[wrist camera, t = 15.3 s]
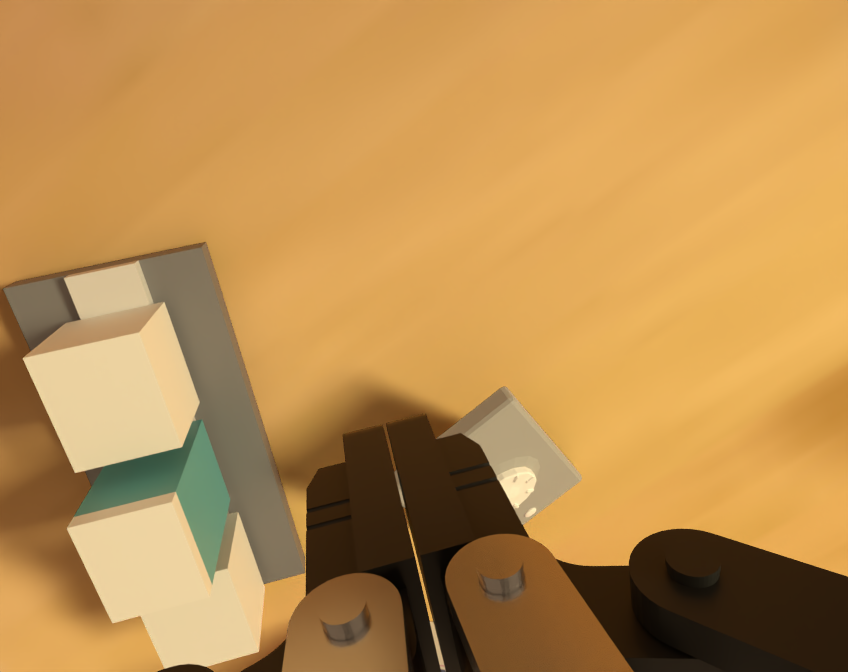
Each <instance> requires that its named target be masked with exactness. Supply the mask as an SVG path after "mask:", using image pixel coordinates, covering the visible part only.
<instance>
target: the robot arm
mask: <svg viewBox="0 0 848 672" xmlns="http://www.w3.org/2000/svg"><path fill="white" fill-rule="evenodd" d="M386 425H387V430H388V435H389V439H390V443H391V448H392V452H393V456H394V461H395V465H396V470H397V474H398V478H399V483H400V487H401V491H402V496H403V500H404V504H405V509H406V513H407V517H408V521H409V525H410V529H411V534H412V538H413V542H414V546H415V550H416V554H417V558H418V562H419V566H420V570H421V574H422V578H423V582H424V586H425V590H426V594H427V598H428V602H429V606H430V610H431V614H432V618H433V622H434V626H435V630H436V634H437V638H438V642H439V646H440V650H441V654H442V658H443V662H444V666H445V670H446V672H848V577H847V576H844V575H841V574H837V573H834V572H831V571H828V570H825V569H822V568H819V567H816V566H812V565H809V564H806V563H803V562H800V561H797V560H794V559H791V558H787V557H784V556H781V555H778V554H775V553H772V552H769V551H765V550H762V549H759V548H756V547H753V546H750V545H747V544H744V543H740V542H737V541H734V540H731V539H728V538H725V537H722V536H719V535H715V534H712V533H708V532H705V531H699V530H693V529H671V530H665V531H661V532H658V533H655V534H652V535H650V536H648V537H646V538H645V539H643V540H642V541H641V542H639V543H638V544H637V546H636V547H635V548H634V549H633V551H632V553H631V555H630V560H629V566H581V565H574V564H570V563H566V562H562V561H560V560H557V559H555V557H554V556H553V555H552V553H551V552H550V551H549V550H548V549H547V548H546V547H545V546H543V545H542V544H541V543H539V542H537V541H535V540H533V539H531V538H529V536H528V534H527V532H526V531H525V529H524V527H523V525H522V523H521V521H520V519H519V517H518V516H517V514H516V512H515V510H514V508H513V506H512V504H511V502H510V500H509V499H508V497H507V495H506V493H505V491H504V489H503V487H502V485H501V484H500V482H499V480H498V479H497V476H496V474H495V472H494V470H493V468H492V467H491V466H490V464H489V461H488V459H487V457H486V455H485V453H484V452H483V450H482V448H481V446H480V445H479V444H478V443H476V442H475V441H473V440H471V439H470V438H468V437H466V436H465V435H463V434H462V433H459V434H455V435H451V436H447V437H443V438H439V439H436V438H435V436H434V434H433V431H432V429H431V426H430V424H429V421H428V419H427V416H426V414H421V415H417V416H413V417H409V418H405V419H401V420H397V421H393V422H389V423H386ZM343 442H344V452H345V461H346V462H344V463H341V464H337V465H333V466H329V467H325V468H321V469H319V470H318V471H317V473H316V475H315V476H314V478H313V480H312V481H311V483H310V485H309V486H308V488H307V514H306V527H307V531H306V597H304V599H303V600H302V601H301V602H300V603H299V604H298V606H297V607H296V609H295V610H294V612H293V614H292V616H291V619H290V621H289V625H288V630H287V638H286V640H285V641H284V642H283V643H282V644H281V645H280V646H279V647H278V648H277V649H275V650H274V651H273V652H272V653H270V654H269V655H268V656H266V657H265V658H263V659H261V660H260V661H258V662H257V663H255V664H253V665H251V666H250V667H248V668H246V669H244V670H243V671H241V672H441V669H440V664H439V660H438V656H437V651H436V647H435V643H434V638H433V634H432V630H431V625H430V621H429V617H428V612H427V608H426V603H425V599H424V595H423V590H422V586H421V582H420V577H419V573H418V569H417V564H416V560H415V556H414V552H413V547H412V543H411V539H410V535H409V531H408V527H407V523H406V519H405V515H404V510H403V506H402V502H401V498H400V494H399V490H398V486H397V482H396V478H395V473H394V469H393V465H392V461H391V457H390V453H389V449H388V445H387V441H386V436H385V432H384V428H383V424H381V425H377V426H373V427H369V428H365V429H361V430H357V431H353V432H349V433H345V434H343ZM158 672H214V671H212V670H211V669H209V668H207V667H205V666H201V665H196V664H183V665H177V666H173V667H169V668H166V669H163V670H160V671H158Z"/></svg>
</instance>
